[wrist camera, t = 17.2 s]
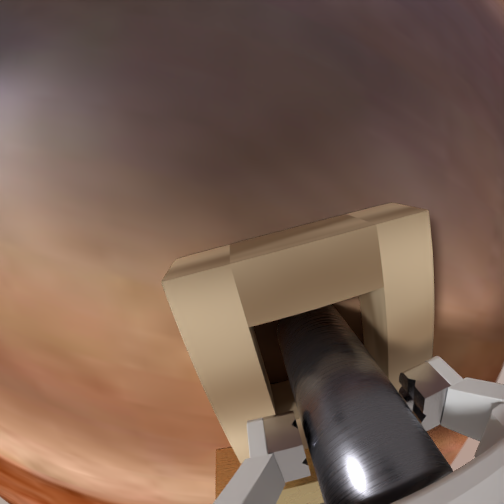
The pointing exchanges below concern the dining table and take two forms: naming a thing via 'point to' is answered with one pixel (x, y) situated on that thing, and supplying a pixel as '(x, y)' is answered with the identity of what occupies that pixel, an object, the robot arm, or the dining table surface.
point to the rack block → (303, 303)
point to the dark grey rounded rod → (353, 415)
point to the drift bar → (294, 492)
